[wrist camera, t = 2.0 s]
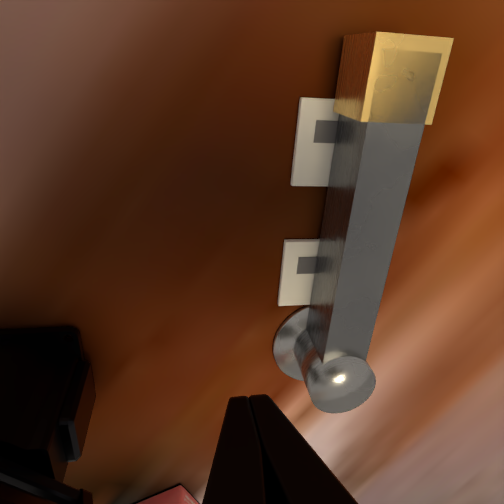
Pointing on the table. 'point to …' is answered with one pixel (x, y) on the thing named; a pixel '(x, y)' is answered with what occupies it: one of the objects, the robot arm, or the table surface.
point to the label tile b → (314, 142)
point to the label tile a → (297, 271)
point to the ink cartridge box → (171, 497)
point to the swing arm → (365, 204)
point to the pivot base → (290, 342)
